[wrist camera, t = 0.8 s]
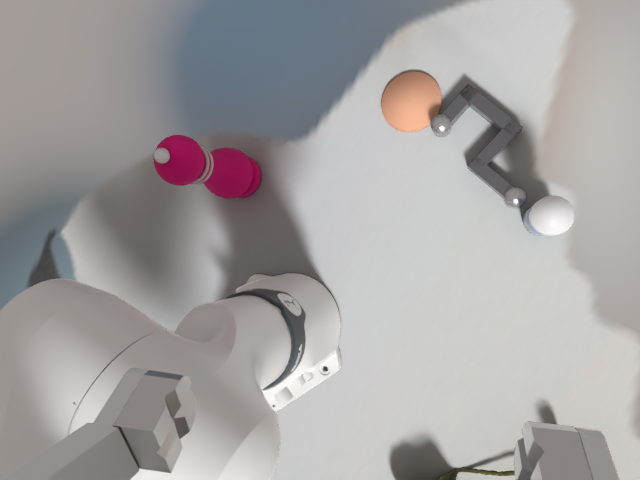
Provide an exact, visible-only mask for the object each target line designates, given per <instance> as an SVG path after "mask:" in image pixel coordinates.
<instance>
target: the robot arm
mask: <svg viewBox="0 0 640 480" xmlns="http://www.w3.org/2000/svg"><path fill="white" fill-rule="evenodd" d="M340 329H341V323H340V315H339V311H338V308H337V305H336V303H335V301H334V299H333V297H332V295H331V294H330V293H329V291H328V290H327V289H326V288H325V287H324V286H323V285H322V284H321V283H319V282H318V281H317V280H315V279H313V278H311V277H309V276H306V275H303V274H298V273H287V274H282V275H278V276H268V275H263V274H255V275H252V276H251V277H250V278H249V279H248V281H247V283H246V284H245V285H243V286H240V287H238V288H237V289H236V293H235V294H233V295H231V296H229V297H227V298H226V299H224V300H219V301H215V302H210V303H206V304H203V305H200V306H198V307H196V308H195V309H193V310H192V311H191V312H189V313H188V314H187V315H186V316H185V317H184V318H183V320H182V321H181V322H180V323H179V325H178V326H177V328H176V330H175V332H173V331H169V330H168V329H166V328H165V327H163V326H162V325H160V324H159V323H157V322H155V321H154V320H152V319H151V318H149V317H148V316H146V315H145V314H143V313H142V312H140V311H139V310H137V309H136V308H134V307H133V306H131V305H130V304H128V303H126V302H125V301H123V300H122V299H120V298H119V297H117V296H115V295H113V294H110V293H108V292H105V291H103V290H100V289H97V288H95V287H92V286H89V285H86V284H83V283H80V282H77V281H73V280H70V279H52V280H47V281H44V282H41V283H38V284H36V285H34V286H32V287H30V288H28V289H26V290H24V291H22V292H21V293H20V294H18V295H16V296H15V297H14V298H13V299H11V300H10V301H9V302H8V303H7V304H6V305H5V306H4V307H3V308H2V309H1V310H0V480H272V477H273V475H274V472H275V469H276V466H277V462H278V457H279V451H280V427H279V421H278V416H277V414H276V412H277V411H278V410H280V409H281V408H283V407H284V406H286V405H287V404H289V403H290V402H292V401H293V400H295V399H296V398H298V397H300V396H301V395H303V394H304V393H306V392H307V391H309V390H310V389H312V388H313V387H315V386H316V385H318V384H319V383H321V382H322V381H324V380H326V379H327V378H329V377H330V376H332V375H333V374H335V373H336V372H338V371H339V370H340V368H341V357H340V352H339V348H338V343H339V337H340ZM324 366H326V367H327V368H328V371H325V370H324ZM522 433H523V438H522V439H520V440H518V441H517V444H516V447H515V453H514V472H515V479H516V480H619V477H618V474H617V471H616V468H615V465H614V463H613V460H612V457H611V454H610V451H609V448H608V445H607V442H606V439H605V437H604V435H603V434H602V433H601V431H598V430H592V429H584V428H576V427H573V426H565V425H557V424H548V423H540V422H531V421H527V422H525V423H524V426H523V428H522Z"/></svg>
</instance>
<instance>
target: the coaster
mask: <svg viewBox="0 0 640 480" xmlns="http://www.w3.org/2000/svg"><path fill="white" fill-rule="evenodd" d="M441 103H442V96H441V91H440V88H439V86H438V84H437V83H436V81H435V80H434V79H433V78H432V77H430V76H429V75H427V74H425V73H422V72H407V73H404V74H401V75H399V76H398V77H396V78H395V79H393V80H392V81H391V82H390V83H389V85H388V86H387V87H386V89H385V91H384V93H383V97H382V104H381V106H382V112H383V115H384V117H385V119H386V120H387V122H388V123H389V124H390V125H391V126H392V127H394V128H395V129H397V130H400V131H404V132H414V131H418V130H421V129H423V128H425V127H427V126H428V125H429V124H431V121H432V119H433V117H435V116H436V115H438V113H439V111H440V108H441Z"/></svg>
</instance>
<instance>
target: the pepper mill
mask: <svg viewBox="0 0 640 480" xmlns="http://www.w3.org/2000/svg"><path fill="white" fill-rule="evenodd" d="M154 165H155V168H156V171H157V172H158V174H159V175H160V176H161V177H162V179H164V180H165V181H167V182H169V183H171V184H174V185H187V184H201V183H204V184H205V186H206V187H207V188H208V189H209V190H210V191H211V192H212V193H214V194H215V195H217V196H220V197H223V198H236V197H242V198H243V197H248V196H250V195H252V194H253V193H254V192H255V191H256V190H257V189H258V187H259V185H260V182H261V171H260V168H259V166H258V164H257V163H256V162H255V161H254V160H253V159H251V158H249V157H247V156H246V155H245V154H244V153H242V152H241V151H239V150H236V149H232V148H221V149H217V150H214V151H212V152H209V150H208V149H207V148H205V147H203V146H200V145H198V143H197V142H195V141H194V140H193V139H191V138H189V137H186V136H182V135H174V136H170V137H167V138H165V139H164V140H163V141H162V142H161V143H160V144H159V145H158V146H157V148H156V150H155V152H154Z"/></svg>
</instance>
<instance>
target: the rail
mask: <svg viewBox="0 0 640 480" xmlns="http://www.w3.org/2000/svg"><path fill="white" fill-rule="evenodd" d="M469 106H470V107H471V108H472V109H473V110H475V111H476V112H477V113H478V114H480V115H481V116H482V117H483V118H485V119H486V120H487V121H488V122H490V123H491V124H492V125H493V126H495V127H496V128H497V129H498V130H500V132H499V133H498V134H497V135H496V136H495V137H494V139H493V140H492V141H491V142H490V143H489V144H488V145H487V146H486V147H485V148H484V149H483V150H482V151H481V152H480V153H479V155H478V156H477V157H476V158H475V159H474V160H473V161H472V162H471V163H470V164H469V165H468V169H469V170H470V171H472V172H473V173H474V174H475V175H476V176H478V177H479V178H480V179H481V180H482V181H483V182H485V183H486V184H487V185H488V186H489V187H491V188H492V189H493V190H494V191H495V192H497V193H498V194H499V195H500V196H501V197H502V198H504V202H505V204H506V205H507V206H508V207H510V208H517V207H520V206H521V205H522V204H523V203H524V202H525V200H526V193H525V191H524V190H523V189H521V188H519V187H513V186H512V185H511V184H509V183H508V182H507V181H506V180H505V179H503V178H502V177H501V176H500V175H499V174H497V173H496V172H495V171H494V170H493V169H491V168H490V167H489V166H488V165H489V164H490V163H491V162H492V161H493V160H494V159H495V158H496V157H497V156H498V155H499V153H500V152H501V151H502V150H503V149H504V148H505V147H506V146H507V145H508V144H509V143H510V142H511V141H512V140H513V139H514V138H515V137H516V136H517V134H518V133H519V132H520V131H521V130H522V127H523V126H521V125H520V124H519V123H517V122H516V121H515V120H514V119H512V118H511V117H510V116H509V115H507V114H506V113H505V112H503V111H502V110H501V109H500V108H498V107H497V106H496V105H495V104H493V103H492V102H491V101H489V100H488V99H487V98H486V97H484V96H483V95H482V94H480V93H479V92H478V91H477V90H475V89H474V88H473V87H472V86H470V85H469V84H468V85H467V86H466V87H465V88H464V89H463V91H462V92H461V93H460V94H459V95H458V96H457V97H456V98H455V100H454V101H453V102H452V103H451V104H450V105H449V106H448V107H447V108H446V110H445V111H444V112H443V113H442V114H438V115H436V116H435V117H433V119H432V121H431V128H432V130H433V132H434V134H435V135H436V136H439V137H444V136H446V135H448V134H449V133H450V131H451V126H452V125H453V124H454V123H455V122H456V121H457V119H458V118H459V117H460V116H461V115H462V114H463V113H464V112H465V111H466V109H467V108H468V107H469Z"/></svg>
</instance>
